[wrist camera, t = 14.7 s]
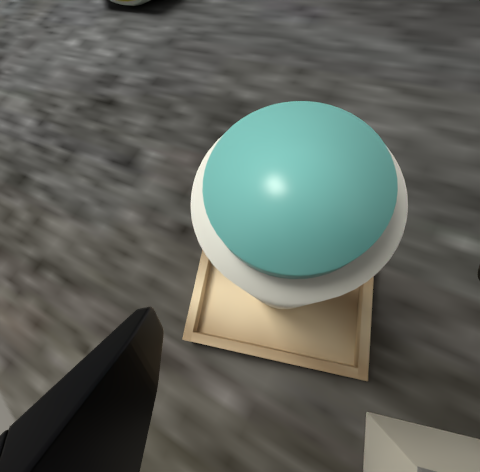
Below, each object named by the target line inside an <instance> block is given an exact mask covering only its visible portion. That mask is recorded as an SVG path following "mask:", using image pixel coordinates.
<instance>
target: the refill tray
mask: <svg viewBox="0 0 480 472" xmlns="http://www.w3.org/2000/svg"><path fill="white" fill-rule="evenodd" d="M373 279H374V276H373V277H372V278H371V279H370V280H369V281H367V282H366V283H364V284H362V285H361V286H359V287H358V288H356V289H355V290H352V291H350V292H348V293H346V294H343V295H341V296H338V297H335V298H331V299H328V300H325V301H321V302H317V303H313V304H309V305H305V306H301V307H297V308H293V309H276V308H273V307H270V306H268V305H266V304H264V303H262V302H261V301H259V300H258V299H256V298H255V297H253V296H252V295H250V294H249V293H247V292H246V291H244V290H243V289H241V288H240V287H238V286H237V285H235V284H234V283H233V282H231V281H230V280H229V279H227V278H226V277H225V276H224V275H223V274H222V273H221V272H220V271H219V270H218V269H217V268H216V267H215V266H214V265H213V264H212V263H211V261H210V260H209V259H208V257H207V256H206V255H205V253H204V251H202V255H201V259H200V264H199V268H198V273H197V277H196V281H195V286H194V290H193V295H192V299H191V304H190V308H189V312H188V317H187V321H186V326H185V330H184V334H183V339H182V340H186V341H191V342H195V343H200V344H204V345H209V346H213V347H218V348H222V349H226V350H231V351H235V352H240V353H244V354H249V355H253V356H258V357H262V358H266V359H271V360H275V361H280V362H284V363H289V364H293V365H298V366H302V367H306V368H311V369H315V370H320V371H324V372H329V373H333V374H337V375H342V376H346V377H351V378H355V379H360V380H364V381H368V369H369V351H370V333H371V315H372V297H373Z"/></svg>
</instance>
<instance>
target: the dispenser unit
mask: <svg viewBox="0 0 480 472" xmlns="http://www.w3.org/2000/svg"><path fill="white" fill-rule="evenodd" d="M363 472H480V439H477V438H473V437H469V436H464V435H460V434H456V433H452V432H448V431H444V430H440V429H436V428H432V427H428V426H424V425H419V424H415V423H411V422H407V421H403V420H399V419H395V418H391V417H387V416H383V415H379V414H375V413H370V412H366V428H365V446H364V464H363Z"/></svg>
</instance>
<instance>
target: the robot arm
mask: <svg viewBox="0 0 480 472" xmlns="http://www.w3.org/2000/svg"><path fill="white" fill-rule="evenodd" d="M478 278H479V280H480V265H479V269H478ZM162 344H163V327H162V325H161V323H160V321H159V319H158V317H157V315H156V312H155V311H154V309H153V308H152V307H146V308H141V309H137V310H136V311H135V312H134V313H133V314H131V315H130V316H129V317H128V318H127V319H126V320H125V321H124V322H123V323H122V324H121V325H120V326H118V327H117V328H116V329H115V330H114V331H113V332H112V333H111V334H110V335H109V336H108V337H107V338H105V339H104V340H103V341H102V342H101V343H100V344H99V345H98V346H97V347H96V348H95V349H94V350H92V351H91V352H90V353H89V354H88V355H87V356H86V357H85V358H84V359H83V360H82V361H80V362H79V363H78V364H77V365H76V366H75V367H74V368H73V369H72V370H71V371H70V372H69V373H67V374H66V375H65V376H64V377H63V378H62V379H61V380H60V381H59V382H58V383H57V384H56V385H54V386H53V387H52V388H51V389H50V390H49V391H48V392H47V393H46V394H45V395H44V396H42V397H41V398H40V399H39V400H38V401H37V402H36V403H35V404H34V405H33V406H32V407H31V408H29V409H28V410H27V411H26V412H25V413H24V414H23V415H22V416H21V417H20V418H19V419H18V420H16V421H15V422H14V423H13V424H12V425H11V426H10V428H9V430H6V431H4V432H3V433H2V434H1V435H0V472H139V471H140V467H141V462H142V458H143V453H144V448H145V444H146V439H147V434H148V430H149V425H150V421H151V416H152V411H153V407H154V402H155V398H156V392H157V387H158V380H159V371H160V362H161V353H162Z"/></svg>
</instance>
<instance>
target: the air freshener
mask: <svg viewBox="0 0 480 472" xmlns="http://www.w3.org/2000/svg"><path fill="white" fill-rule="evenodd" d="M110 1H112V2H114V3H118V4H122V5H131V6H138V5H142V4H144V3H146V2H149V1H151V0H110Z"/></svg>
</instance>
